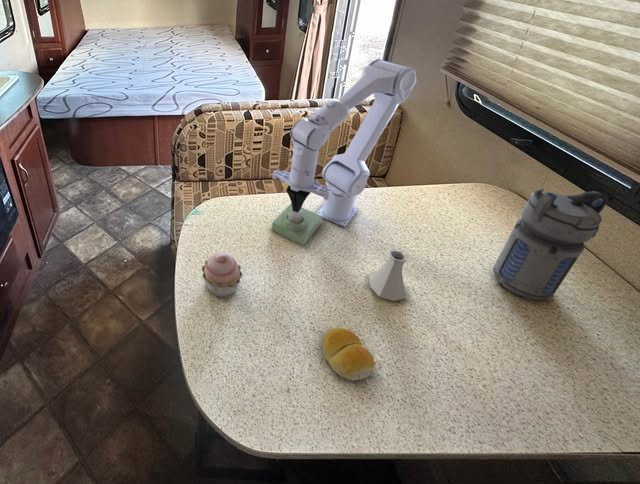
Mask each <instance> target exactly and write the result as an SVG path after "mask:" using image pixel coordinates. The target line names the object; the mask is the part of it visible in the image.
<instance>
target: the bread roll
mask: <svg viewBox="0 0 640 484" xmlns="http://www.w3.org/2000/svg"><path fill="white" fill-rule="evenodd" d="M321 352H322V355H323V357H324V359H325V361H326V362H327V363H328V365H329V366H330V368H331V369H332V370H333V371H334V372H335V373H336V374H337V375H339V376H340V377H342V378H343V379H345V380H349V381H351V382H354V381H361V380H363V379H367V378H369V377H370V376H372V375H373V374H374V369H375V365H376V363H375V359H374V357H373V354H372V353H371V352H370V351H369V350H368V349H367V348H366V347H364V346H363V344H362V341H361V339H360V337H359V336H358V335H357V334H355V333H354V332H352V331H351V330H350V329H346V328H341V327H337V328H331V329H329V330H327V332H325V334H324V335H323V337H322V340H321Z"/></svg>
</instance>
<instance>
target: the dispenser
mask: <svg viewBox="0 0 640 484" xmlns="http://www.w3.org/2000/svg"><path fill="white" fill-rule="evenodd" d="M291 209H292V203H291V202H290V204H289V205H288V206H287V207H286V208H284V210H283V211H282V212H281V213H280V214H279V215H278V216H277V217H276V218H275V219H274V220H273V221H272V226H271V231H273V232H275V233H277V234H279V235H281V236H283V237H285V238H287V239H289V240H292V241H293V242H296V243H297V244H299V245H301V246H305V244H306V243H307V242H308V241H309V239H310V238H311V237H312V236H313V234H314V233H315V232H316V230H317V229H319V227H320V226H321V225H322V220H323V218H322V216H321V215H318V214H317V212H314V211H311V210H309V209H307V208H304V207H303V206H302V207H301V211H302V212H303V219H302V222H301V223H293V222H291V221H289V219H288V214H289V210H291Z"/></svg>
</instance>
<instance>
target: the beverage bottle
mask: <svg viewBox="0 0 640 484" xmlns="http://www.w3.org/2000/svg"><path fill="white" fill-rule="evenodd" d="M543 191H545V188H540V189H536V190H535V191H533V192H532V193H531V194H530V197H529V198H528V200H527V201H526V203H525V205H524V207H523V210H522V211H521V214H520V216H521V218H519V219H518V220H517V221H516V223H515V224H514V226H513V228H512V230H511V232H510V233H509V236H508V238H507V240H506V242H505V243H504V246H503V247H502V250H501V251H500V253H499V255H498V257H497V259H496V261H495V263H494V264H493V266H492V270H493V275H494V277H495V279H496V280H497V282H498V283H499V284H500V285H502V287H504V288H505V289H507V290H508V291H510V292H512V293H513V294H515V295H517V296H522V298H525V299H529V300H533V301H543V300H547V299H551V298H552V297H554V295H555V294H556V292H557V291H558V290H559V288H560V287H561V285H562V283H563V282H564V280H565V278H566V277H567V275H568V274H569V273H570V271H571V270H572V268H573V267H574V265H575V263H577V260H578V259H579V257H580V256H581V254H582V253H583V251H584V250H585V248H586V244H585V243H588V242H589V241H590V240H591V239H594V237H596V235H597V233H598V232H599V230H600V229H599V228H600V224H601V222H602V221H603V220H602V216H601V214H600V213H601V212H602V211H603V210H604V208H606V207H605V206H606V205H607V204H608V202H609V199H608V198H607V197H606V196H605V195H604V194H603V193H601V192H599V191H596V190H595V191H584V192H582V193H579V194H571V195H563V194H559V193H554V192H543Z"/></svg>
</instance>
